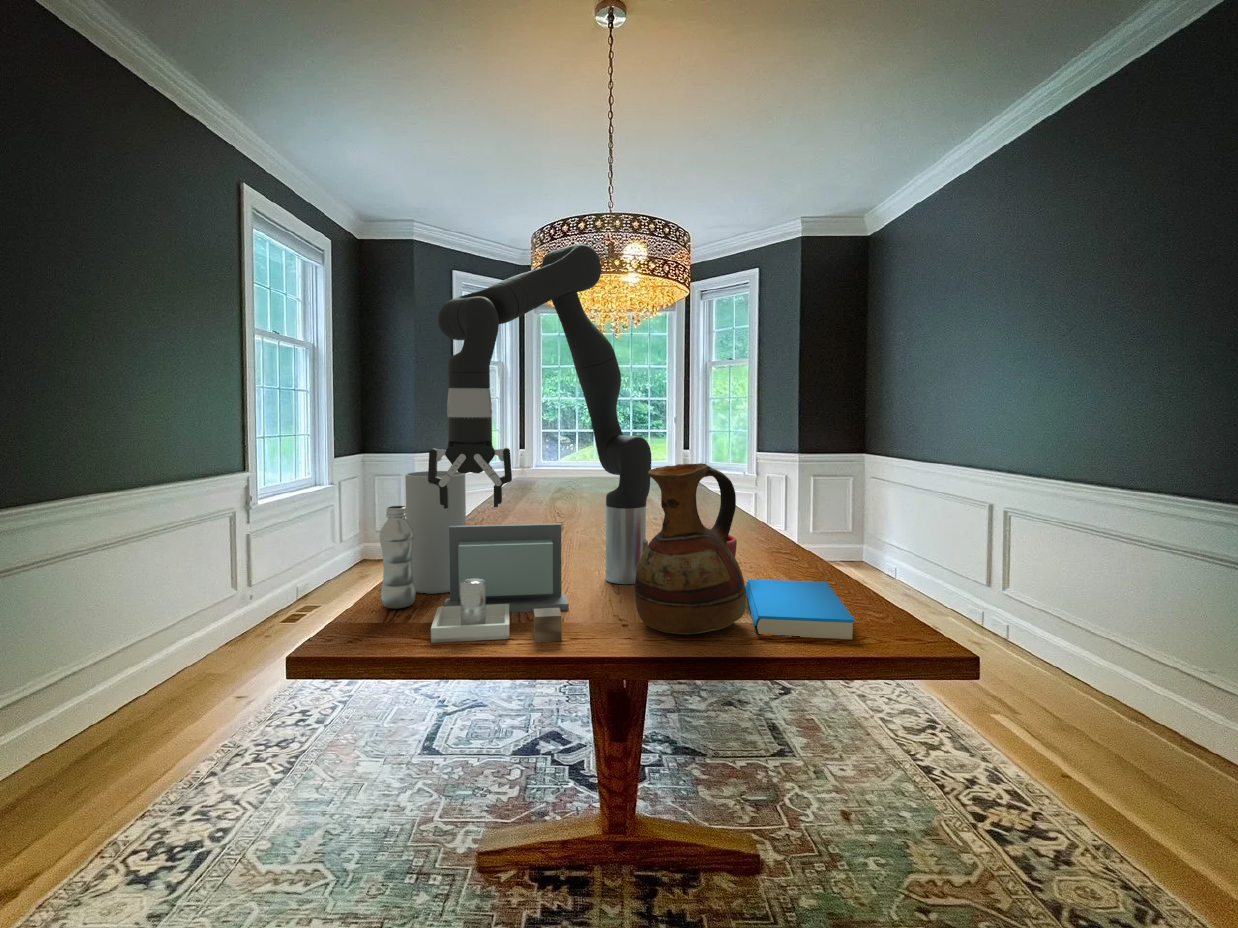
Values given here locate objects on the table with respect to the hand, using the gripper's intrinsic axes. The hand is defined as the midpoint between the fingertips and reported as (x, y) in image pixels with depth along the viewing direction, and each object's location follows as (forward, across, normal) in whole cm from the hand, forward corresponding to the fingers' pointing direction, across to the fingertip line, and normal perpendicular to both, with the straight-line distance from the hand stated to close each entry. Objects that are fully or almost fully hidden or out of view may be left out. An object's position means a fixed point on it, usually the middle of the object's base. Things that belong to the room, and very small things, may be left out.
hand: (471, 507), depth 115 cm
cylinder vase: (+22, +9, -29) cm, 38 cm away
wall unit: (+22, -6, -12) cm, 26 cm away
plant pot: (+22, -49, -19) cm, 57 cm away
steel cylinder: (+21, 0, 0) cm, 21 cm away
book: (+23, -61, +1) cm, 65 cm away
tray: (+22, 0, 0) cm, 22 cm away
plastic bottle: (+22, +15, -15) cm, 31 cm away
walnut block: (+22, -13, +6) cm, 26 cm away
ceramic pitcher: (+22, -39, +4) cm, 45 cm away
